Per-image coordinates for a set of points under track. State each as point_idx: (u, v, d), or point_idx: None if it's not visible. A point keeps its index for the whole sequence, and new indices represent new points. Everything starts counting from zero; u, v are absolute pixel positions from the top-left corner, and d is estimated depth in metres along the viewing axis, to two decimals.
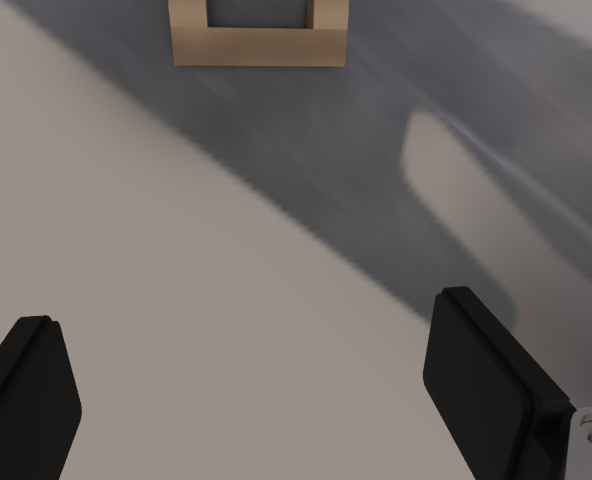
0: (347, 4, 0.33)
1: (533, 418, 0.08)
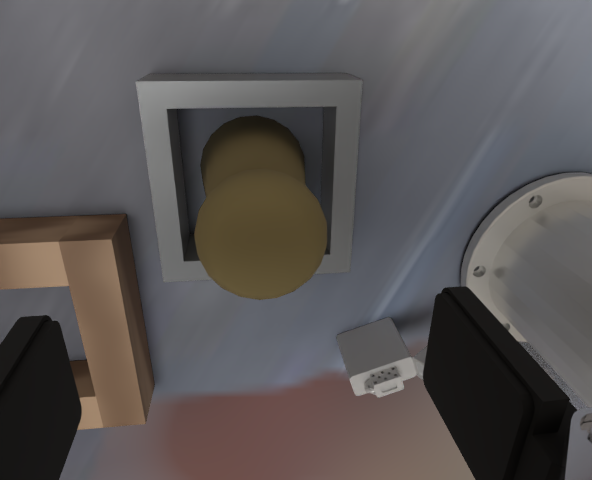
0: None
1: (533, 418, 0.08)
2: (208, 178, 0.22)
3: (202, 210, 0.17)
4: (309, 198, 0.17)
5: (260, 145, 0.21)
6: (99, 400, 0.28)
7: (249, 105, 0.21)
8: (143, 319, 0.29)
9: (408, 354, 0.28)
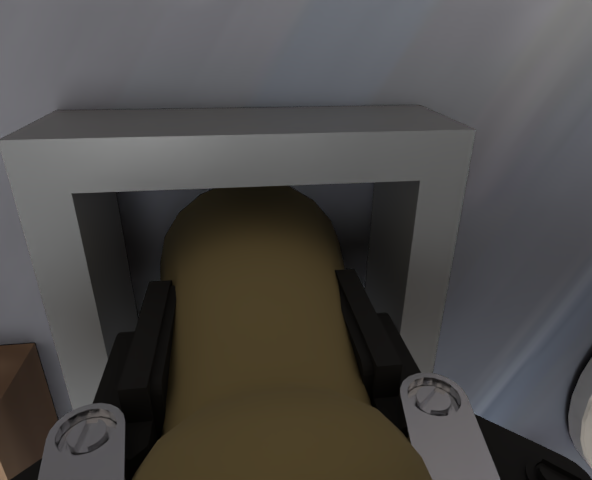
0: None
1: (374, 383, 0.09)
2: None
3: None
4: None
5: (269, 265, 0.10)
6: None
7: (246, 182, 0.10)
8: None
9: None
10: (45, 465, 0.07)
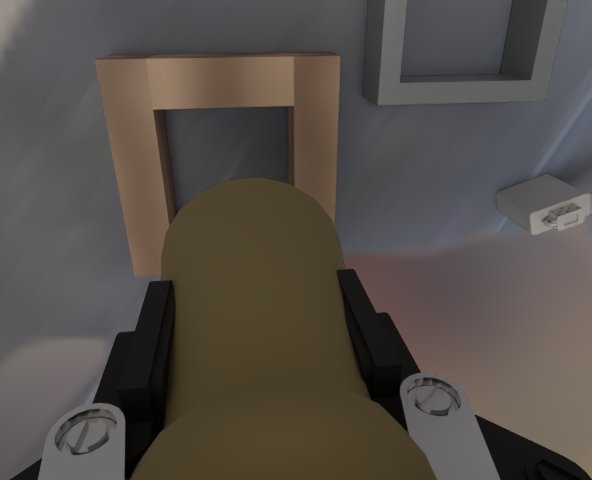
0: None
1: (373, 383, 0.09)
2: None
3: None
4: None
5: (271, 261, 0.10)
6: None
7: None
8: None
9: (584, 192, 0.30)
10: (45, 465, 0.07)
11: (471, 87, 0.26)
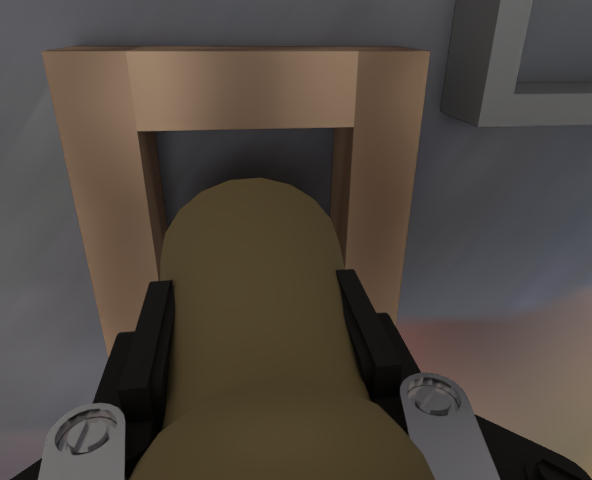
0: None
1: (373, 383, 0.09)
2: None
3: None
4: None
5: (270, 262, 0.10)
6: None
7: None
8: None
9: None
10: (45, 465, 0.07)
11: None
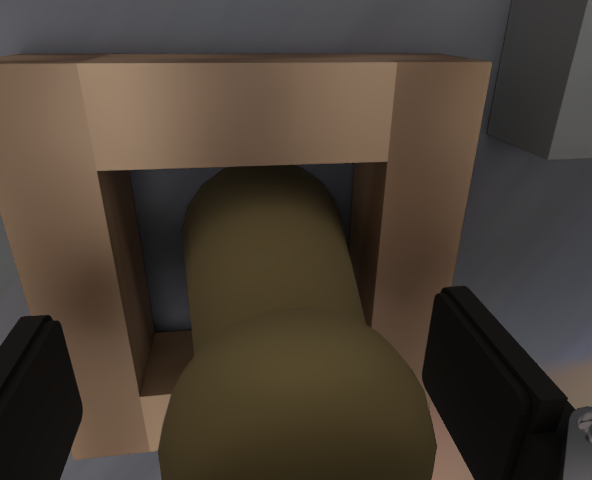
0: None
1: (531, 417, 0.08)
2: (193, 277, 0.12)
3: (177, 412, 0.08)
4: (412, 394, 0.08)
5: (287, 226, 0.12)
6: None
7: None
8: None
9: None
10: None
11: None
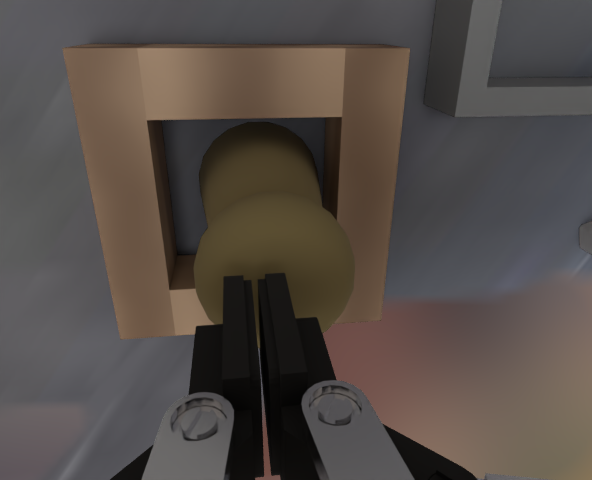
0: None
1: (280, 390, 0.09)
2: (210, 194, 0.18)
3: (205, 240, 0.14)
4: (337, 232, 0.14)
5: (273, 158, 0.18)
6: None
7: None
8: None
9: None
10: (158, 442, 0.07)
11: (580, 95, 0.20)
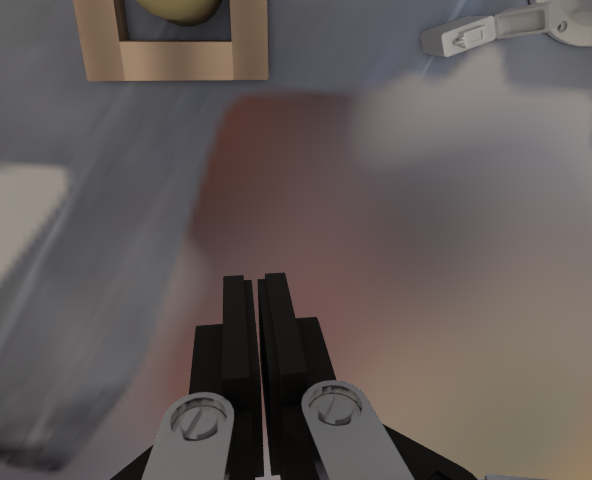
0: (148, 79, 0.33)
1: (280, 390, 0.09)
2: None
3: None
4: None
5: None
6: (234, 47, 0.33)
7: None
8: None
9: (490, 16, 0.34)
10: (158, 442, 0.07)
11: None
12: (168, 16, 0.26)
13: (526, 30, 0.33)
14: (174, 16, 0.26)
